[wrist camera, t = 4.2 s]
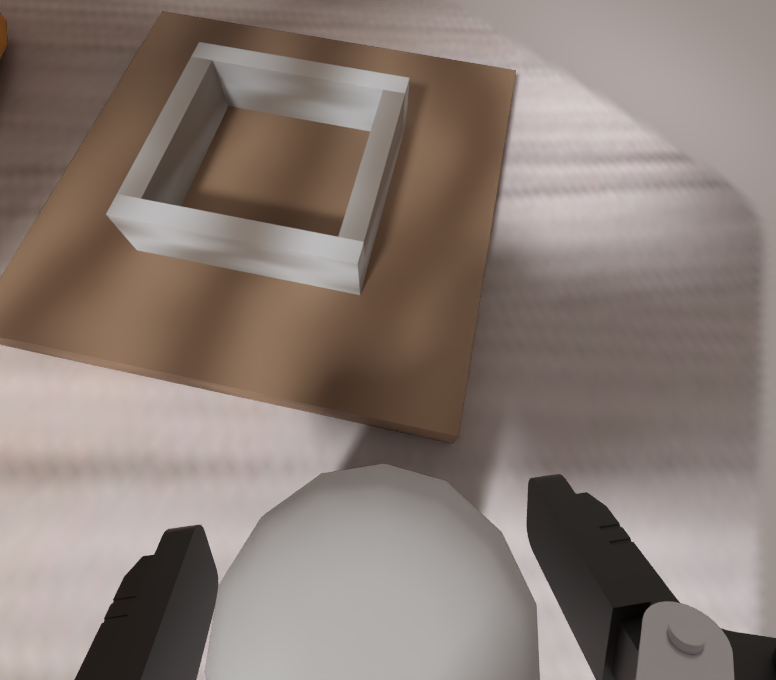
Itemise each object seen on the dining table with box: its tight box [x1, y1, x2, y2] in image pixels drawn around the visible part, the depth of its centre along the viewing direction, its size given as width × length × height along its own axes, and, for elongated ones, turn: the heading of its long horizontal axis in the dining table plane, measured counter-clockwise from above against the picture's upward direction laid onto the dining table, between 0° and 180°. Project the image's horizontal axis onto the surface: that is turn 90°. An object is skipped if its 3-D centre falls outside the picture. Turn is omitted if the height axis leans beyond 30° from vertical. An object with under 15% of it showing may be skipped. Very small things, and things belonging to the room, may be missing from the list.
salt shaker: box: [205, 463, 540, 680], centre depth 11 cm, size 6×6×13 cm
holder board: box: [0, 11, 516, 443], centre depth 22 cm, size 20×20×4 cm
